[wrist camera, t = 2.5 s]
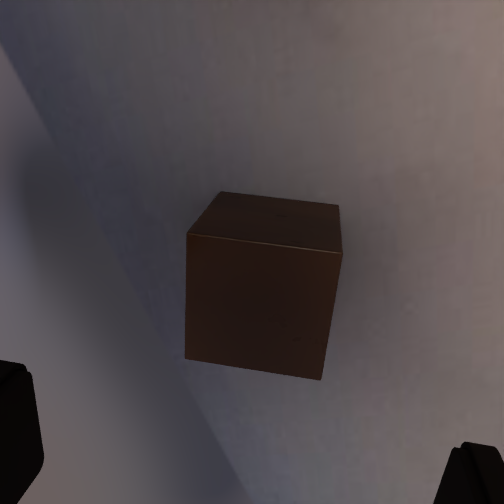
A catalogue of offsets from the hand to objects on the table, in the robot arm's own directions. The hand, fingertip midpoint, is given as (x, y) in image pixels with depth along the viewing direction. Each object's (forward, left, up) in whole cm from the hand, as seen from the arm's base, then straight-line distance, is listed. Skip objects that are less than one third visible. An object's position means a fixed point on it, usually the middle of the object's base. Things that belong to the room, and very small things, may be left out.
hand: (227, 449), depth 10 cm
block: (0, 0, -11) cm, 11 cm away
